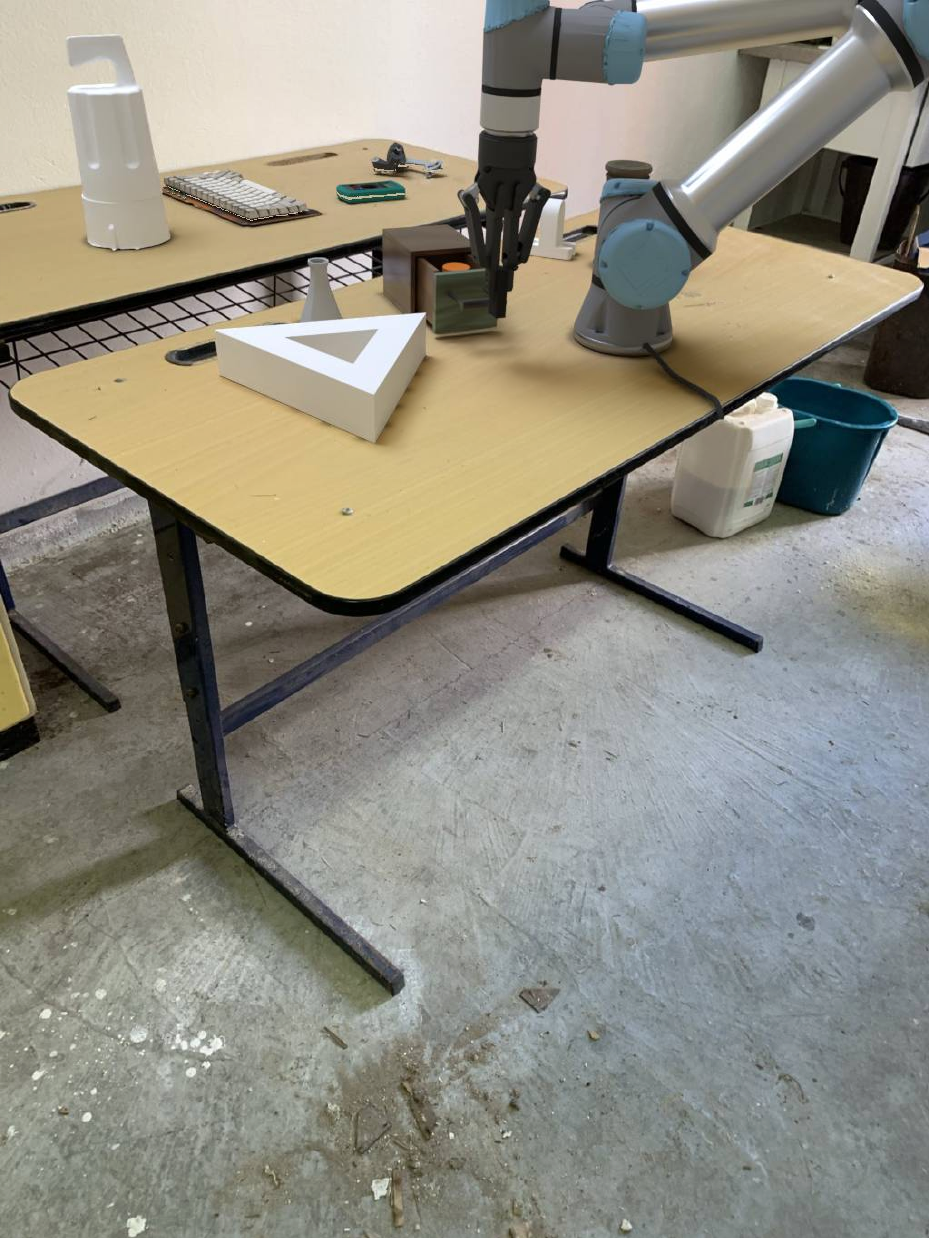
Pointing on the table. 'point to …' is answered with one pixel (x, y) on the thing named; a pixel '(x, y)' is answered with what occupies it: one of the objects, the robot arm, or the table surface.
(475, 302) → the drawer
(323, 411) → the triangle block
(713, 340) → the table surface
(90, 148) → the white piece
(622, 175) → the container
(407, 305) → the cabinet
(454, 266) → the glue stick
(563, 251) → the cable organizer
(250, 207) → the mechanical keyboard
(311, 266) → the flask
